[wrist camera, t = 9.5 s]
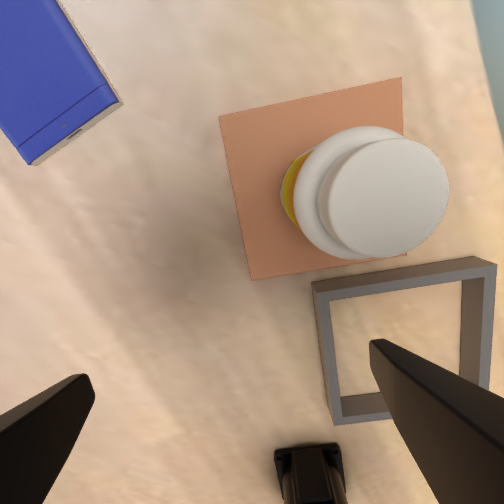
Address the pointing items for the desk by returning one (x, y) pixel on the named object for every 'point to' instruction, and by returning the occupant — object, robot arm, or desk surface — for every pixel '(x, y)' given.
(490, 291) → the square frame
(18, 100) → the hard drive
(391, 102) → the pad
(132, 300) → the desk surface
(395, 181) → the supplement bottle
